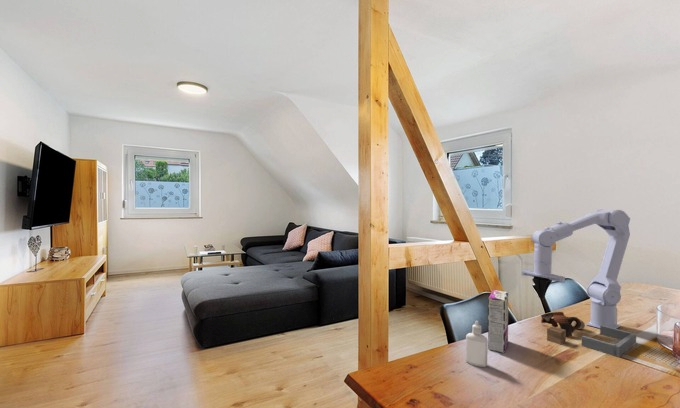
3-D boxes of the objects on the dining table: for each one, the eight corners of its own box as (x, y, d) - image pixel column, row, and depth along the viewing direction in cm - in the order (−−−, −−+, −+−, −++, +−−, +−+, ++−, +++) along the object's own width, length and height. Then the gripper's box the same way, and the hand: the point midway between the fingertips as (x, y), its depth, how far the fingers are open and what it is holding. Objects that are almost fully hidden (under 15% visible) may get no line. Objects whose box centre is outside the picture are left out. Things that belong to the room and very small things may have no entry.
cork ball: (574, 326, 122) (575, 316, 122) (586, 329, 120) (586, 319, 120) (570, 328, 120) (571, 318, 120) (582, 331, 117) (582, 321, 117)
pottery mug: (548, 337, 113) (539, 313, 117) (545, 340, 121) (537, 317, 125) (588, 333, 109) (578, 308, 114) (582, 336, 117) (573, 313, 121)
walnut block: (552, 337, 112) (552, 326, 112) (565, 342, 108) (565, 330, 108) (547, 340, 109) (547, 328, 109) (560, 344, 106) (560, 332, 106)
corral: (601, 333, 116) (601, 325, 116) (636, 343, 108) (636, 333, 108) (581, 345, 106) (581, 336, 106) (618, 357, 98) (618, 347, 98)
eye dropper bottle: (479, 369, 89) (480, 325, 89) (462, 360, 94) (463, 319, 94) (489, 366, 91) (490, 323, 91) (473, 357, 96) (474, 316, 96)
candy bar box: (491, 337, 111) (492, 289, 111) (508, 341, 108) (509, 291, 108) (486, 349, 101) (487, 297, 101) (504, 354, 99) (505, 299, 99)
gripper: (518, 259, 128) (517, 294, 128) (559, 266, 116) (558, 304, 117) (526, 258, 132) (525, 291, 132) (567, 264, 121) (566, 301, 121)
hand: (541, 297), depth 125 cm, fingers closed
